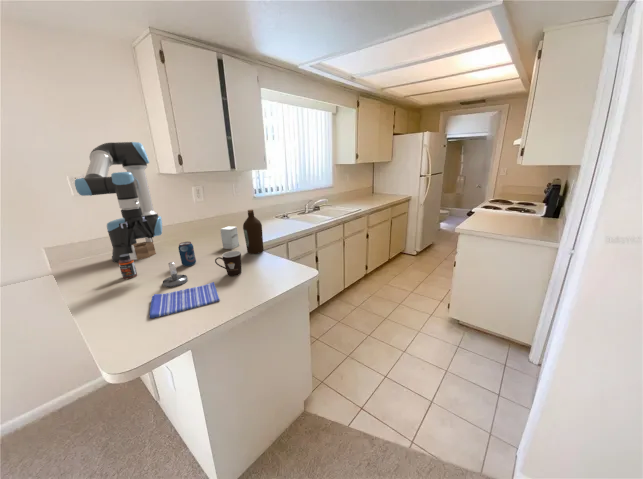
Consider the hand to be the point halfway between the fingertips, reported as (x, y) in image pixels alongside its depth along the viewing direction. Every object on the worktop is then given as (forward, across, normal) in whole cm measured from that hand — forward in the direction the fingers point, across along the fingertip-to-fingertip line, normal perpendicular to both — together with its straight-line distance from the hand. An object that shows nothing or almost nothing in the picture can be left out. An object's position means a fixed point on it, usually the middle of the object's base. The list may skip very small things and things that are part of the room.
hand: (143, 254), depth 124 cm
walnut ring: (0, 0, 0) cm, 0 cm away
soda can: (+12, +16, -10) cm, 23 cm away
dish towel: (+12, -20, -32) cm, 40 cm away
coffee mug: (+12, +6, -39) cm, 42 cm away
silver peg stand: (+11, -5, -17) cm, 21 cm away
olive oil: (+12, +37, -40) cm, 56 cm away
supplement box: (+13, +45, -20) cm, 51 cm away
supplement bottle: (+12, 0, +11) cm, 16 cm away
